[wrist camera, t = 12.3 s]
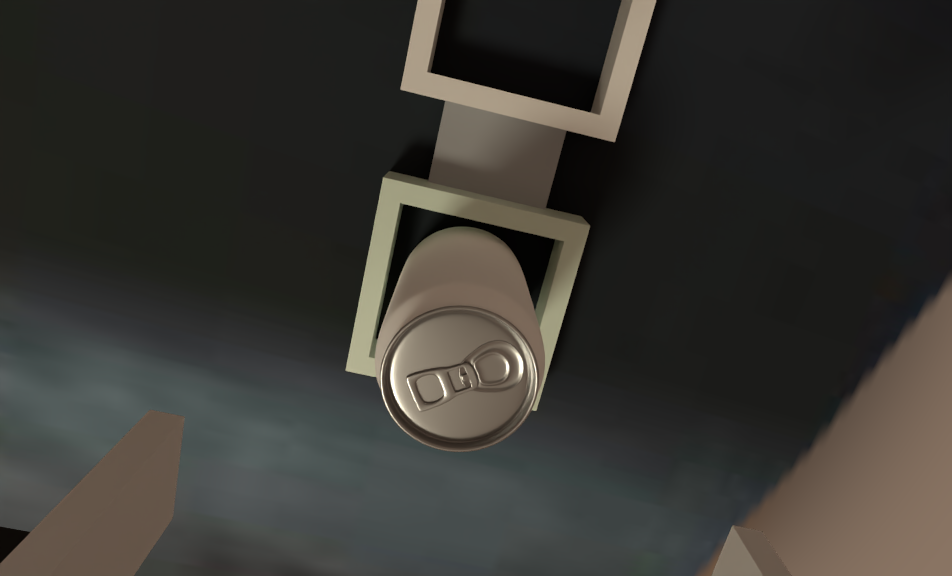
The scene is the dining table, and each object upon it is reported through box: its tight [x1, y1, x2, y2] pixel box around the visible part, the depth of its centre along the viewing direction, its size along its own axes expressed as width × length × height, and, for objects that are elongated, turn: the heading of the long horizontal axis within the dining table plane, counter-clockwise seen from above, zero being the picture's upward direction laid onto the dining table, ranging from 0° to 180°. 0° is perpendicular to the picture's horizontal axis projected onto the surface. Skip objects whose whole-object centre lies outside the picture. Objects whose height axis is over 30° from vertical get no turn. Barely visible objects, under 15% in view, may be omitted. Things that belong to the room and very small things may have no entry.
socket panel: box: [346, 0, 656, 411], centre depth 31 cm, size 24×10×2 cm, turn 167°
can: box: [375, 227, 545, 452], centre depth 29 cm, size 6×6×12 cm
